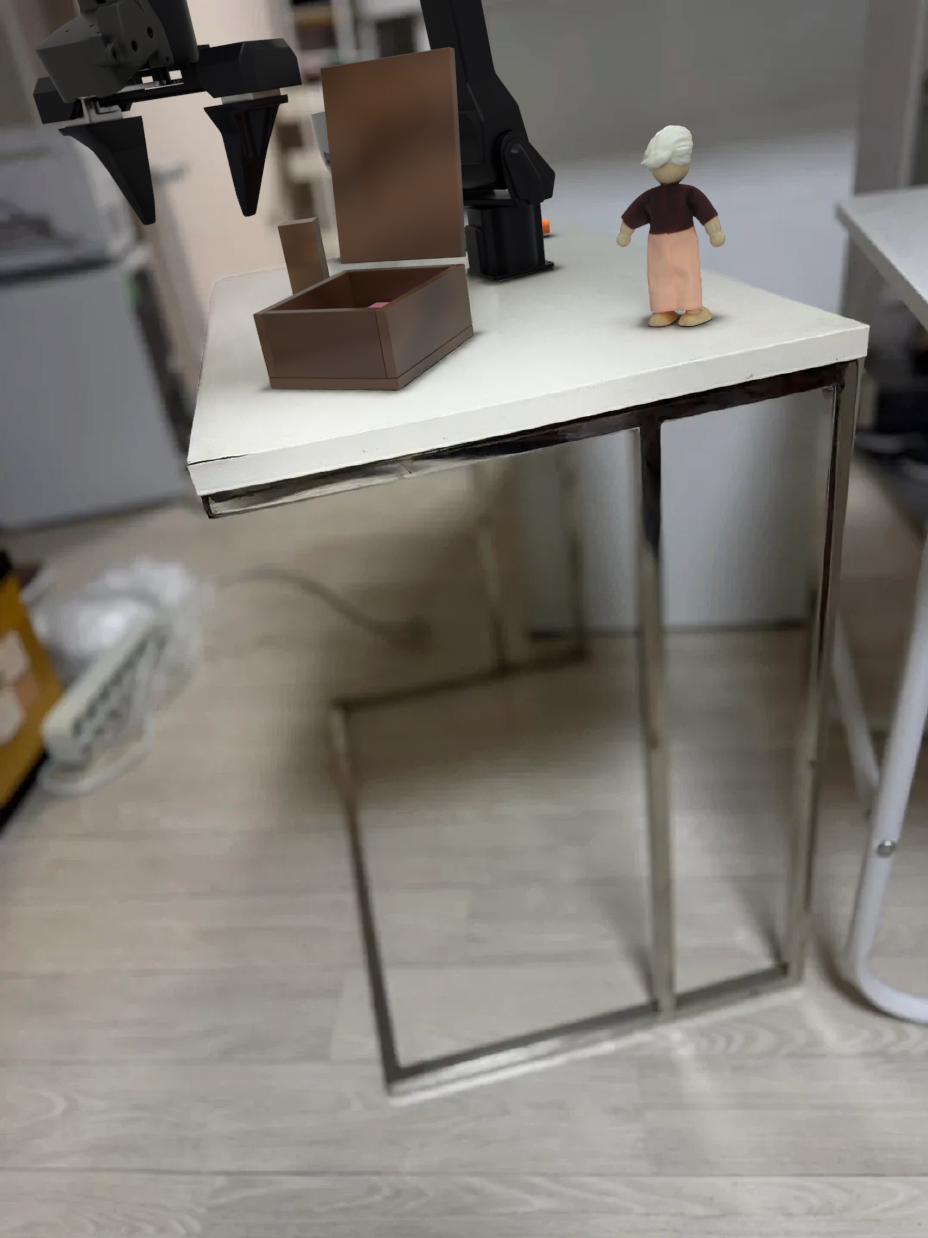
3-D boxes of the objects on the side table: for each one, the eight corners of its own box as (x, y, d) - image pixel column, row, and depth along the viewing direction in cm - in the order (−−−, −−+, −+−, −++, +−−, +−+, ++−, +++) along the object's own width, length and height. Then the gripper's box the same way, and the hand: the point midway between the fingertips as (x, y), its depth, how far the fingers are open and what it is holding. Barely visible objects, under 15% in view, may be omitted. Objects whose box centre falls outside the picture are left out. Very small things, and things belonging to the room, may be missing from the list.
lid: (449, 47, 63) (454, 48, 63) (319, 68, 67) (325, 69, 68) (461, 257, 68) (466, 256, 69) (340, 264, 72) (346, 263, 73)
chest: (399, 390, 62) (385, 310, 59) (270, 388, 66) (252, 314, 63) (474, 334, 71) (465, 263, 68) (357, 336, 76) (344, 269, 73)
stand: (332, 291, 93) (317, 216, 89) (327, 297, 90) (311, 221, 87) (300, 295, 93) (284, 221, 89) (294, 301, 91) (277, 226, 87)
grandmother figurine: (728, 311, 67) (731, 115, 61) (723, 326, 64) (725, 122, 58) (624, 316, 70) (615, 129, 63) (614, 331, 67) (604, 136, 60)
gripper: (-75, -17, 56) (22, 251, 64) (161, -77, 49) (237, 235, 57) (59, -17, 65) (129, 220, 73) (277, -69, 57) (329, 203, 65)
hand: (198, 220), depth 67 cm, fingers open, 9 cm apart
